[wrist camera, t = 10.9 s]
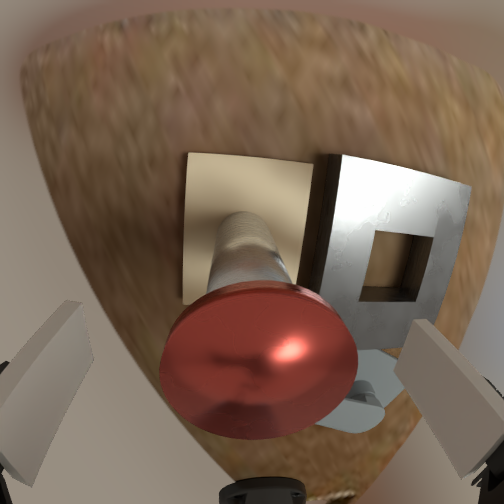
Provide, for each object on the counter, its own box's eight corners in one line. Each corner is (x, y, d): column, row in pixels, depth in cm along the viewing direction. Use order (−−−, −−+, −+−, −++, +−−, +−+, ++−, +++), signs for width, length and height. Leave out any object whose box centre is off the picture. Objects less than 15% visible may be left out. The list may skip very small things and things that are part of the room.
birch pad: (288, 303, 26) (291, 310, 25) (184, 297, 25) (182, 304, 24) (309, 163, 22) (313, 164, 21) (190, 152, 21) (188, 152, 20)
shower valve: (355, 358, 22) (436, 395, 26) (336, 323, 27) (416, 367, 31) (268, 438, 25) (363, 458, 29) (263, 401, 31) (352, 428, 34)
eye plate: (412, 329, 28) (425, 344, 25) (299, 332, 27) (306, 351, 24) (451, 181, 23) (471, 186, 20) (329, 153, 22) (342, 154, 19)
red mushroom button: (277, 277, 24) (330, 435, 9) (201, 271, 23) (168, 434, 9) (288, 201, 22) (382, 300, 7) (205, 194, 21) (152, 288, 7)
